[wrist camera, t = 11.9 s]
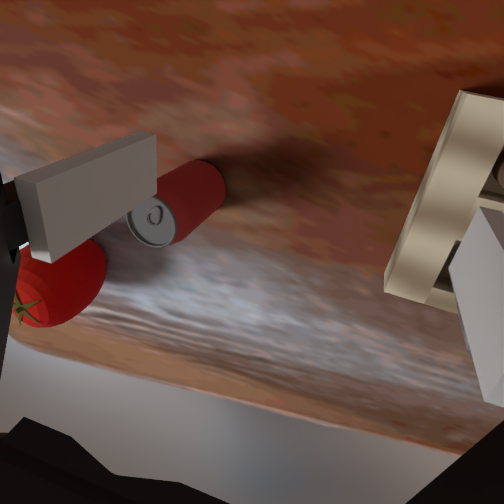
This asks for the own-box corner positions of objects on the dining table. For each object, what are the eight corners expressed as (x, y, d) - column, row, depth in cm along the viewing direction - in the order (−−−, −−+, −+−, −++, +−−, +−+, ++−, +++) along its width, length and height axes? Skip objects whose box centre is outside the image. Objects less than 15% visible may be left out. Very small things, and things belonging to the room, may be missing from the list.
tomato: (99, 300, 61) (29, 359, 49) (46, 251, 60) (-38, 300, 48) (136, 260, 54) (66, 317, 43) (78, 204, 53) (-11, 247, 41)
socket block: (459, 89, 33) (473, 96, 28) (638, 124, 30) (693, 139, 25) (384, 273, 43) (383, 304, 38) (513, 311, 40) (532, 351, 35)
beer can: (237, 181, 44) (192, 219, 34) (211, 220, 47) (164, 265, 37) (192, 147, 44) (134, 174, 33) (170, 189, 47) (111, 225, 37)
